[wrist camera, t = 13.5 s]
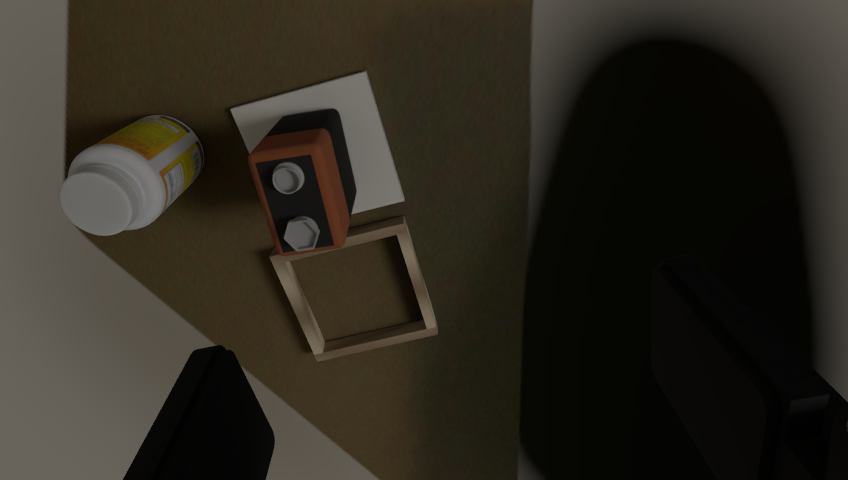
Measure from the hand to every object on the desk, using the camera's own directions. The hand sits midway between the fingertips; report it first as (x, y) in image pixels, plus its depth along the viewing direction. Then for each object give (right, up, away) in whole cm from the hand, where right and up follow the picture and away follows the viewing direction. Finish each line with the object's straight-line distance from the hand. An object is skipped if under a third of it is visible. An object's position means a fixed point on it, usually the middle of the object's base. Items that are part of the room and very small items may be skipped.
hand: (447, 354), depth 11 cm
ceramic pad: (-8, +9, +27) cm, 30 cm away
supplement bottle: (-20, +9, +27) cm, 35 cm away
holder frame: (-6, -2, +33) cm, 33 cm away
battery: (-8, +9, +27) cm, 30 cm away
